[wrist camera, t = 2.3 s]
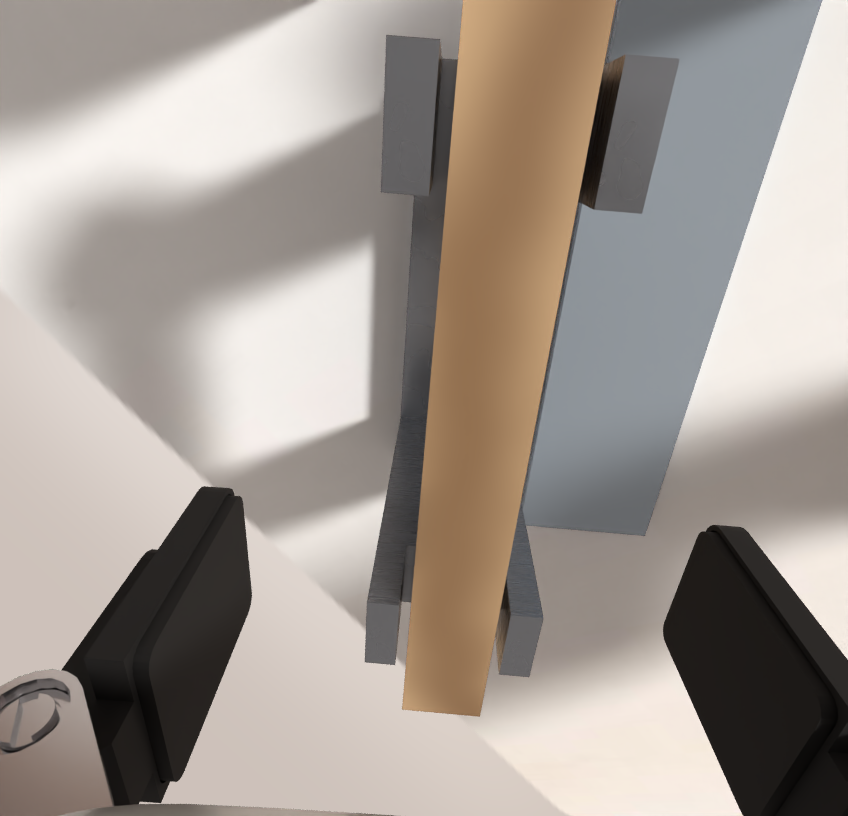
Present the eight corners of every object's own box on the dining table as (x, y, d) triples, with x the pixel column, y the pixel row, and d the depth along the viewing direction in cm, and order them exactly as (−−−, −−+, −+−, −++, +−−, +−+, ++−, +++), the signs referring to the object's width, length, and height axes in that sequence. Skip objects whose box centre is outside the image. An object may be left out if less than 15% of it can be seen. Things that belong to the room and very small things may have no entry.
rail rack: (556, 89, 24) (687, 28, 11) (496, 464, 33) (526, 686, 20) (423, 79, 24) (387, 5, 11) (399, 456, 33) (364, 671, 20)
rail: (597, -57, 12) (637, -110, 10) (476, 650, 23) (479, 716, 21) (469, -67, 12) (473, -123, 10) (407, 643, 23) (402, 709, 21)
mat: (815, -3, 22) (824, -7, 22) (641, 529, 35) (644, 535, 34) (622, -18, 22) (626, -22, 22) (518, 518, 35) (520, 524, 34)
